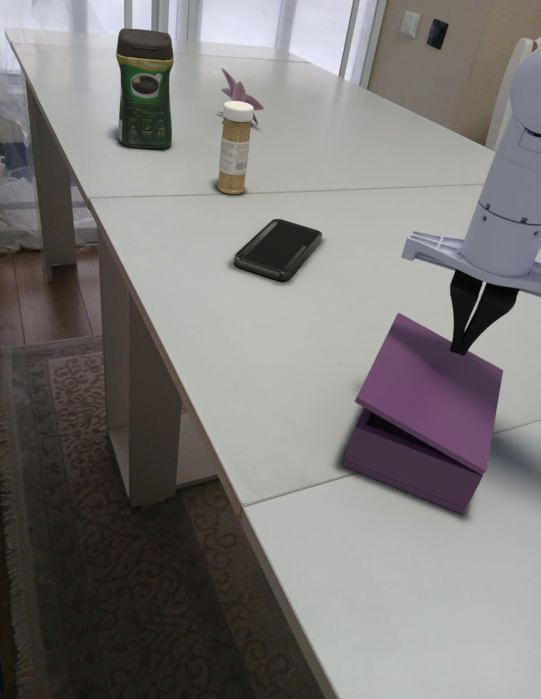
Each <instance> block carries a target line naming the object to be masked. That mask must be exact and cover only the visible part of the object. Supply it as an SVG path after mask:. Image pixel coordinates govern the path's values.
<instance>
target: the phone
mask: <svg viewBox="0 0 541 699" xmlns="http://www.w3.org/2000/svg"><path fill="white" fill-rule="evenodd" d="M322 239H323V233H322V231H320V230H319V229H316V228H312V227H309V226H305V225H302V224H298V223H295V222H292V221H288V220H286V219H281V218H273V219H271V220H270V222H269V223H267V224H266V225H265V226H264V227H263V228H261V230H260V231H259V232H257V234H255V235H254V236H253V237H252V238H251V239H250V240H249V241H248V242H247V243H245V245H243V246H242V247H241V248H240V249H239V250H238V251H237V252H235V254H234V258H233V259H234V260H233V265H234V266H235V267H237V268H239V269H241V270H242V269H243V270H246V271H249V272H252V273H255V274H258V275H260V276H264V277H267V278H270V279H272V280H275V281H280V282H287V281H289V280H290V279H291V278H292V277H293V276H294V275H295V273H296V272H297V271H298V270H299V269H300V268H301V266H302V265H303V263H305V261H306V260H307V259H308V258H309V256H310V255H311V254H312V253H313V251H314V250H315V249H317V247H318V246H319V244H321V241H322Z"/></svg>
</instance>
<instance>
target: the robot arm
mask: <svg viewBox="0 0 541 699" xmlns="http://www.w3.org/2000/svg"><path fill="white" fill-rule="evenodd" d="M509 104H510V108H511V113H510V116H509V118H508V120H507V124H506V126H505V130H504V132H503V134H502V138H501V140H500V141H499V142H498V145H497V147H496V151H495V153H494V157H493V159H492V161H491V164H490V167H489V170H488V172H487V174H486V178H485V181H484V182H483V186H482V189H481V192H480V194H479V197H478V200H477V202H476V206H475V208H474V211H473V214H472V217H471V219H470V223H469V225H468V228H467V230H466V233H465V236H464V238H458V237H452V236H445V235H440V234H439V235H438V234H432V233H426V232H423V231H418V230H415V229H411V230H410V232H409V233H408V235H407V236H406V240H405V243H404V246H403V249H402V253H401V256H400V258H401V259H403V260H407V261H409V262H410V261H411V262H413V261H415V260H418V261H422V262H424V263H429V264H431V265H435V266H438V267H441V268H444V269H447V270H451V271H454V272H453V276H452V278H451V281H450V282H449V283H450V284H449V297H450V300H451V307H452V315H453V318H452V320H453V330H452V340H451V342H452V344H451V348H450V351H451V352H454V353H456V354H459V355H462V356H465V355H466V353H467V351H470V348H471V347H472V346H473V344H474V343H475V342H476V340H478V338H479V337H480V336H481V335H482V334H484V332H485V331H487V329H488V328H489V327H491V326H492V325H493V324H494V323H496V322H497V321H498V320H499V319H501V318H502V317H504V316H505V315H507V314H508V313H509V312H510V311H511V310H513V308H514V306H515V305H516V302H517V298H518V295H519V293H520V292H521V293H525V294H527V295H528V294H529V295H532V296H535V297H538V298H541V262H539V261H538V260H536V259H537V256H538V254H539V252H540V250H541V46H539V47H538V48H536V49H535V50H533V51H532V52H530V53H529V54H528V55H527V56H525V58H524V59H523V60H522V61H521V62H520V64H519V65H518V66H517V68H516V69H515V72H514V74H513V76H512V80H511V82H510V87H509ZM483 283H485V285H484V288H483V290H482V292H481V289H482V287H483ZM480 294H481V295H480ZM479 296H480V297H479ZM478 299H479V300H478ZM477 302H478V303H477ZM476 304H477V306H476ZM475 307H476V308H475ZM474 309H475V311H474ZM473 312H474V313H473ZM472 313H473V314H472ZM471 316H472V317H471Z"/></svg>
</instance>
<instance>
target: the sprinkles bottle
mask: <svg viewBox="0 0 541 699" xmlns="http://www.w3.org/2000/svg"><path fill="white" fill-rule="evenodd" d="M254 112H255V110H254V108H253V106H252V105H250V104H248V103H245V102H240V101H232V100H228V101H225V102H224V103H223V109H222V116H223V118H222V119H223V120H224V121H223V120H222V122H223V124H222V133H221V134H222V135H221V139H220V140H221V141H220V151H219V152H220V153H219V165H218V169H219V170H218V182H217V189H218V190H219V191H220V192H222V193H224V194H229V195H239V194H243V193H244V191H245V183H246V174H247V171H248V170H247V169H248V160H249V153H250V152H249V151H250V142H251V140H250V137H251V127H252V122H253V113H254Z"/></svg>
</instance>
